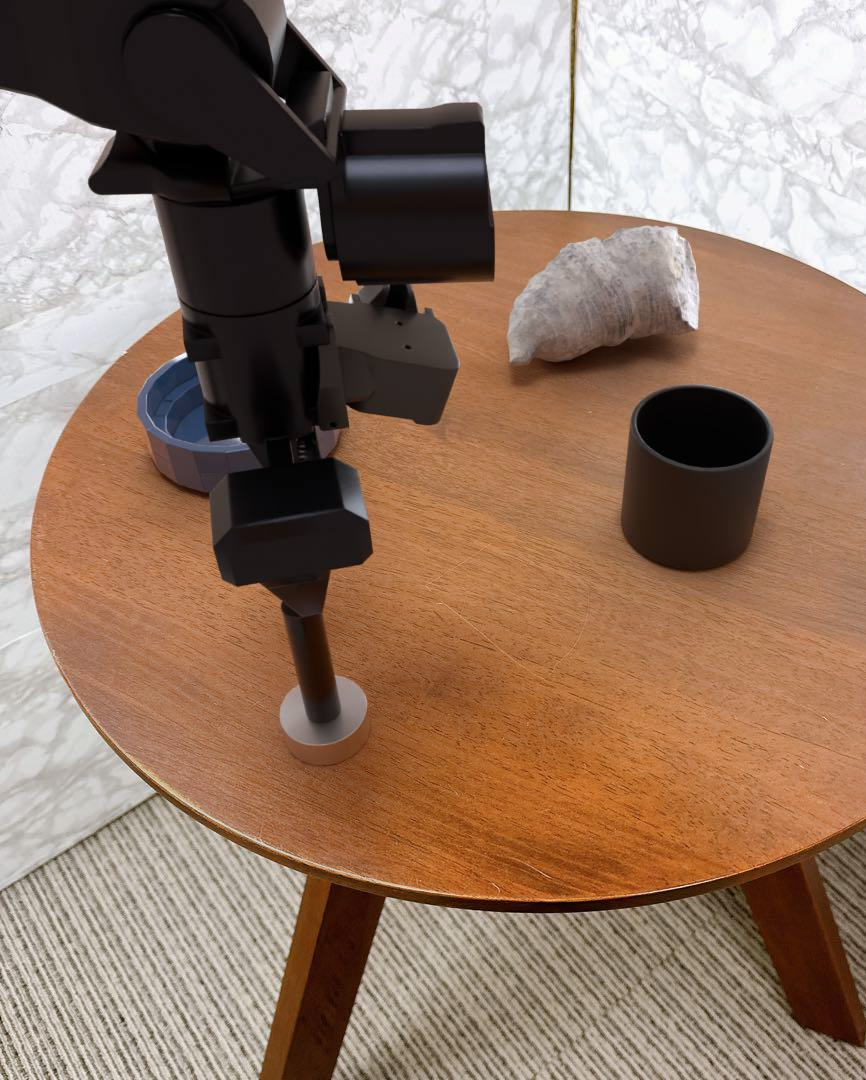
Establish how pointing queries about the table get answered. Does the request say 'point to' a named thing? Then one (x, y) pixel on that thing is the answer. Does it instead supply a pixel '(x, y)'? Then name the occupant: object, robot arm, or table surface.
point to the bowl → (192, 430)
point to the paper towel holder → (320, 698)
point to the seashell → (606, 295)
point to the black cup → (694, 475)
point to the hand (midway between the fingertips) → (301, 548)
